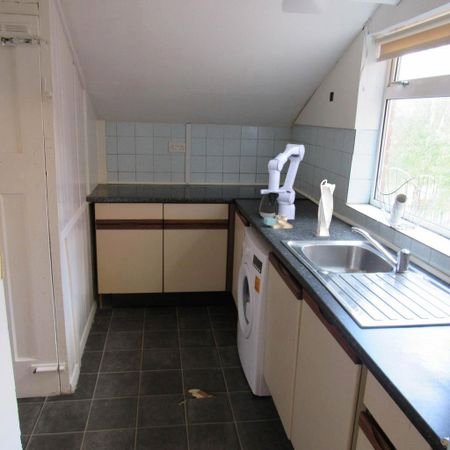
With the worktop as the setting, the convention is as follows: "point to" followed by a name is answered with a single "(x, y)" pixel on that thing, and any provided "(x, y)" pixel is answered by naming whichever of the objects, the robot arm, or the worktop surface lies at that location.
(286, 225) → the board
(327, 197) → the skyscraper
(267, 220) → the stub
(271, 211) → the dark egg-shaped dome
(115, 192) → the worktop surface
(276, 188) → the robot arm
